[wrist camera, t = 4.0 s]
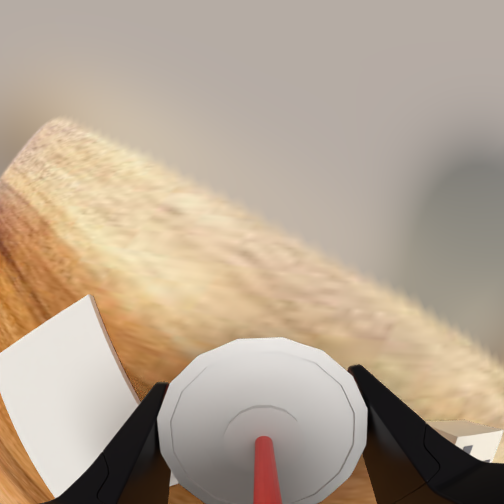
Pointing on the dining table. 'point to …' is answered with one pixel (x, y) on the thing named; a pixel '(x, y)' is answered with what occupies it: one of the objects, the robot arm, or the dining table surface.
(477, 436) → the letter block
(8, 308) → the dining table surface
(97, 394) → the mat
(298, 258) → the dining table surface
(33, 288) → the dining table surface
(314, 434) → the beverage cup
